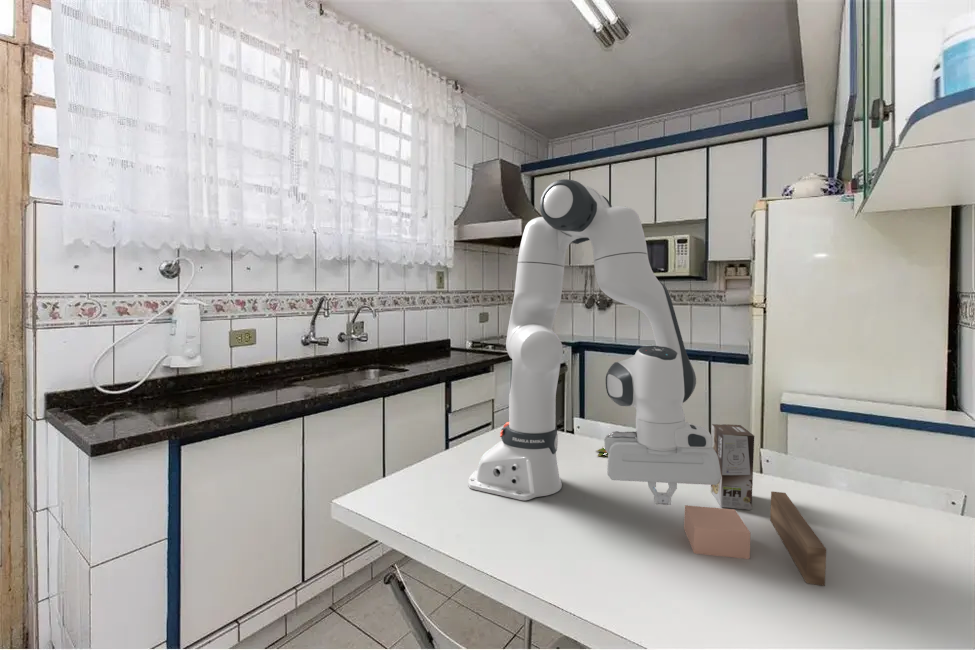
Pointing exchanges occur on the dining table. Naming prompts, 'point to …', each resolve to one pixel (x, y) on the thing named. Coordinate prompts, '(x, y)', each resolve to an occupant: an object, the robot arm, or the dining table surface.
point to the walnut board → (798, 539)
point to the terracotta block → (716, 532)
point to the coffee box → (734, 465)
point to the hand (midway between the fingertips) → (662, 503)
